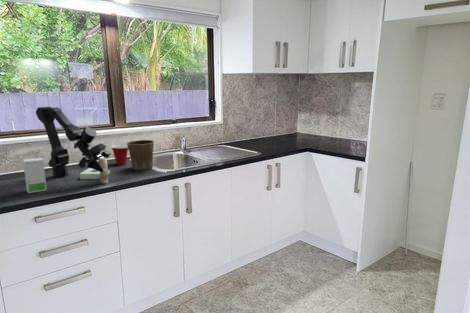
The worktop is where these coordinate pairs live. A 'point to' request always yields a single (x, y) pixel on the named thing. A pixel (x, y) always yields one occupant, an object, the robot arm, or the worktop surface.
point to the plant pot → (141, 154)
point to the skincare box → (34, 175)
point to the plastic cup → (120, 154)
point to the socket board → (91, 174)
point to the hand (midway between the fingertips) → (105, 170)
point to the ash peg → (103, 174)
